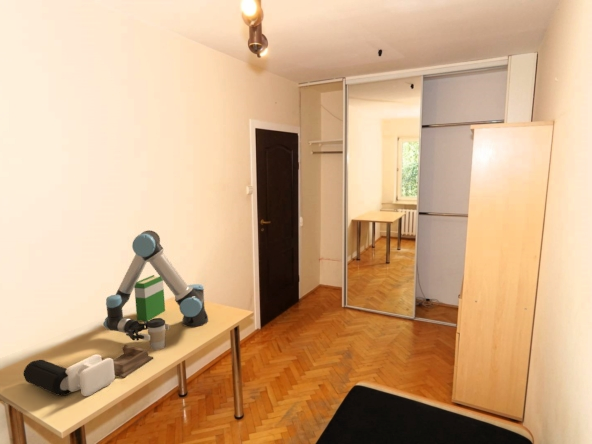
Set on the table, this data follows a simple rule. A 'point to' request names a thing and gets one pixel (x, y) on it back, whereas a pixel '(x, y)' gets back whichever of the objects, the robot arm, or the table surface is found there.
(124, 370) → the brown wooden tray
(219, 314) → the table surface
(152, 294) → the hardback book
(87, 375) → the cable organizer
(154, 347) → the coffee cup
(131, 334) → the robot arm
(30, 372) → the portable speaker
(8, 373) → the table surface
